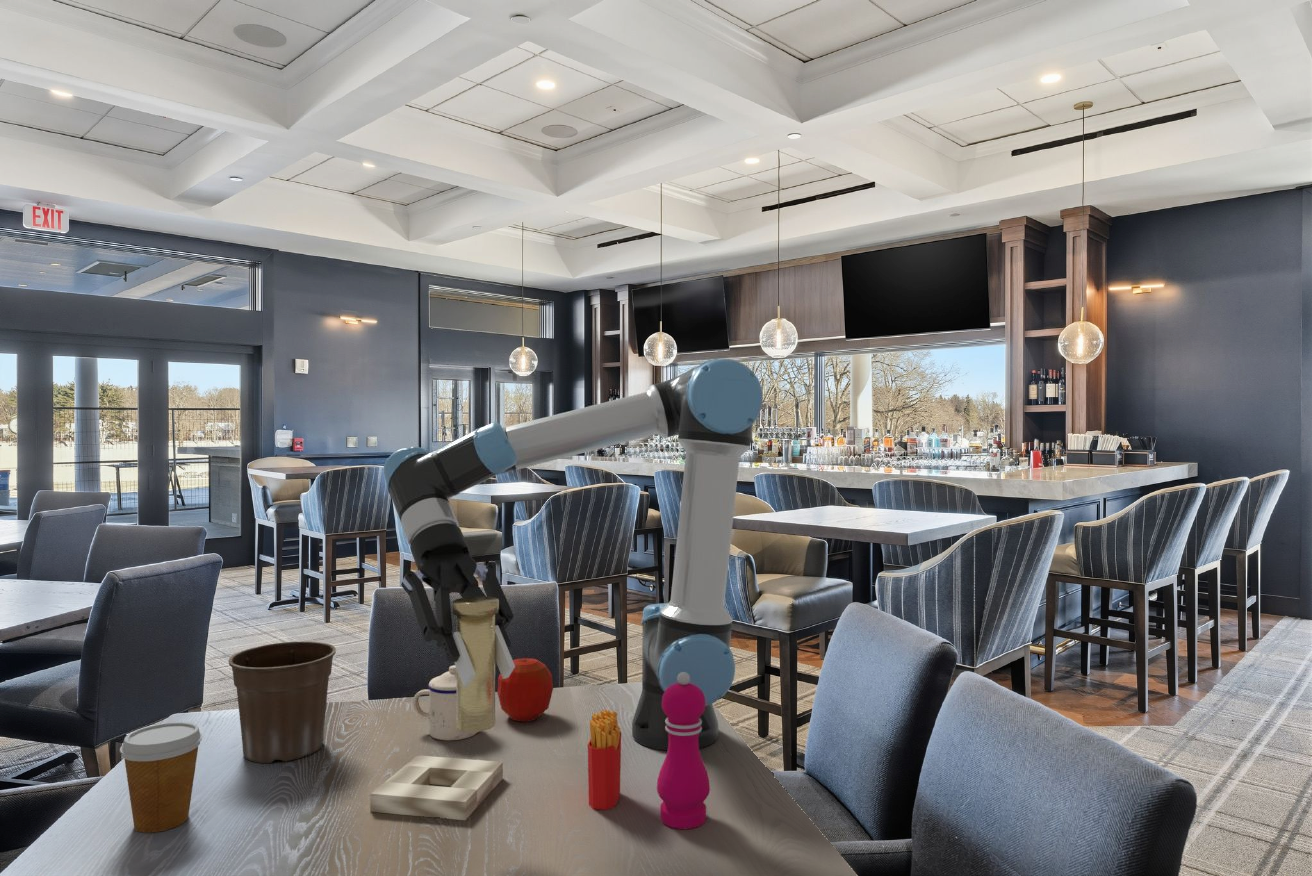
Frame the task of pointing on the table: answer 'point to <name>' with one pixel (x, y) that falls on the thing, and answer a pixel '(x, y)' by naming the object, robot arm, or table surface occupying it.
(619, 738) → the french fries
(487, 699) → the gold stepped cylinder
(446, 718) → the teacup with lid
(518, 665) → the apple
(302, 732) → the plant pot
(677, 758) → the pepper mill
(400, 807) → the socket block
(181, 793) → the disposable coffee cup
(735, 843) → the table surface
